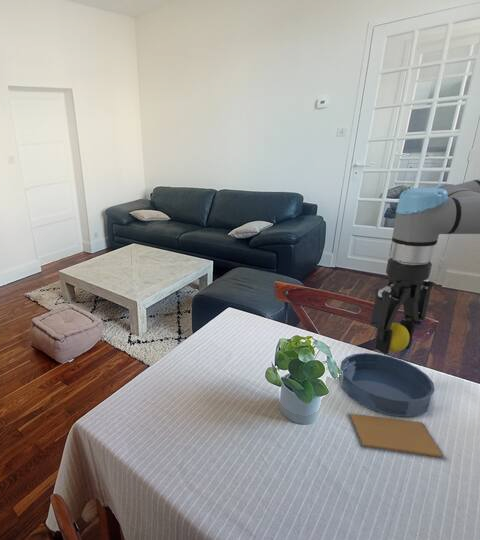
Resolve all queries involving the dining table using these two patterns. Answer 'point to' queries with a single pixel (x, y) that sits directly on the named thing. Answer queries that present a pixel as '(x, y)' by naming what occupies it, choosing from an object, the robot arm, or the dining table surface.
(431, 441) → the cork mat
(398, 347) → the lemon
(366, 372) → the bowl
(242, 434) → the dining table surface
